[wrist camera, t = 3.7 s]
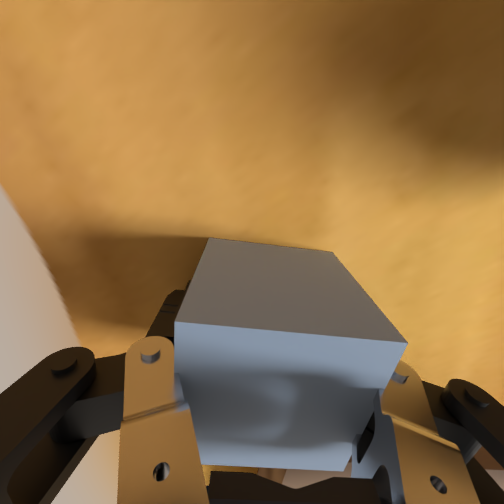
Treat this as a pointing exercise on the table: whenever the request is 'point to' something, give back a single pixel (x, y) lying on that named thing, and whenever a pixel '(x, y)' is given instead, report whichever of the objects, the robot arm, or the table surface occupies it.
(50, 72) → the table surface
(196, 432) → the blue cube
